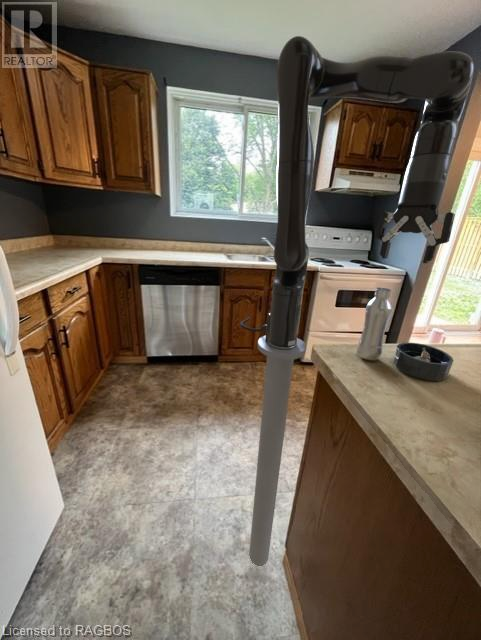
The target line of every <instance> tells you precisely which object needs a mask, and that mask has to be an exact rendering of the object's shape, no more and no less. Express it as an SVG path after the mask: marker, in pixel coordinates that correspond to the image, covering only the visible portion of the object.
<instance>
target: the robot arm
mask: <svg viewBox="0 0 481 640" xmlns="http://www.w3.org/2000/svg"><path fill="white" fill-rule="evenodd" d="M474 71H475V64H474V60H473V58H472V57H471V56H470V55H469V54H468V53H465V52H462V51H455V50H447V51H445V50H444V51H439V52H434V53H427V54H422V55H418V56H405V55H375V56H374V55H373V56H369V57H366V58H363V59H359V60H355V61H351V62H339V61H336V60H335V61H334V60H330V59H328V58H325V57H322V55H321V54H320V52H319V51H318V50H317V48H316V47H315V46H314V44H313V43H312V41H310V40H309V39H308V38H306V37H304V36H300V35H297V36H296V35H295V36H293V37H292V38H290V39H288V41H287V42H286V43H285V44H284V46H283V47H282V50H281V51H280V55H279V56H278V60H277V66H276V87H277V88H276V89H277V104H278V105H277V107H278V135H277V136H278V137H277V139H278V140H277V165H276V204H277V225H276V233H275V234H276V235H275V241H274V242H275V243H274V249H273V259H274V262H275V264H276V265H275V267H276V268H275V275H274V279H273V282H272V290H271V302H270V311H269V312H270V313H267V315H266V316H267V318H266V323H265V324H264V325H262V326H261V327H260V328H252V327H248V326H246V325H244V324H245V323H247V322H249V321H250V320H251V317H250V316H248V317H247V318H246V319H244V320H242V321H240V323H239V326H240V327H241V328H242V329H243V330H246V331H249V332H255V333H256V332H257V333H258V332H259V333H260V332H263V334H264V333H265V335H266V339H265V342H267V343H268V344H269V345H270V346H271V347H273V348H276V349H281V350H289V349H293V348H295V347H296V346H297V338H298V334H299V327H300V321H301V320H300V319H301V313H302V305H303V296H304V290H305V289H304V288H305V283H306V277H307V271H308V270H307V269H308V264H309V255H310V249H309V246H308V245H307V243H306V219H307V218H306V217H307V211H308V208H309V204H310V199H311V193H312V187H313V181H314V180H313V178H314V165H315V151H314V143H313V137H312V136H313V135H312V132H311V127H310V120H309V100H314V99H324V98H350V99H359V100H365V101H368V100H369V101H374V102H381V103H382V102H383V103H392V104H401V103H403V102H405V101H407V100H408V99H411V100H425V102H424V108H423V113H422V117H421V122H420V127H419V128H418V130H417V131H416V133H415V137H414V140H413V144H412V148H411V154H410V157H409V161H408V164H407V166H406V170H405V173H404V176H403V178H402V185H401V186H402V187H401V191H400V195H399V198H398V203H397V208H396V210H395V212H388V211H382V212H380V215H379V218H378V222H377V226H376V229H375V233H374V238H375V239H378V240H379V241H381V246H380V250H379V256H380V257H381V259H382V260H387V259H388V257H389V253H390V249H391V244H392V242H391V241H392V240H393V239H394V238H395V237H396V236H397V235H399V234H400V233H405V234H408V233H412V234H422V235H423V237H424V238H425V239H426V241H427V243H428V245H427V246H426V249H425V252H424V256H423V260H422V264H427V265H428V264H429V262H431V261H433V259H434V257H435V255H436V254H435V253H436V251H437V247H438V246H440V245H442V244H448V243H449V242H450V238H451V234H452V230H453V225H454V222H455V217H456V214H455V212H451V211H448V212H446V213H445V212H444V213H439V207H440V204H441V203H440V202H441V199H442V196H443V192H444V189H445V185H446V182H447V177H448V173H449V170H450V165H451V164H450V163H451V159H452V154H453V150H454V147H455V142H456V139H457V135H458V127H459V124H460V120H461V117H462V115H463V112H464V109H465V106H466V102H467V100H468V97H469V92H470V90H471V85H472V82H473V77H474ZM392 219H393V221H394V222H395V224H394V225H393V226H392V227H391V228H390V229H389V230H388V232H387V233H386V234H385V232H386V229H387V224H388V223H389V222H391V220H392ZM438 219H439V222H440V224H441V225H442V229H441V233H440V237H439V238H437V236H436V235H435V232H434V230H433V228H432V225H433V224H434V223H435V222H436V221H438Z"/></svg>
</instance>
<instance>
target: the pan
mask: <svg viewBox="0 0 481 640" xmlns="http://www.w3.org/2000/svg"><path fill="white" fill-rule="evenodd" d="M424 347H425V352H428V355H427V356H429V355H430V360H428V361H430V362H426V361H422V360H419V359H416V358H413V357H415V356H421V354H422V352H423V350H422V349H423V348H424ZM426 354H427V353H426ZM454 361H455V359H454V357H452V356H451V354H449V353H447V352H446V351H445V350H444V351H443V350H442V349H439V348H437V347H434V346H431V345H427V344H424V343H423V344H422V343H418V342H400V343H398V345H396V349H395V351H394V356H393V359H392V362H393V364H394V366H395V367H396V368H397V369H398V370H399V371H400V372H402V373H404V374H405V375H407V376H410V377H413V378H415V379H419V380H422V381H428V382H440V381H443V380H446V379H448V377H449V375H450V372H451V369H452V367H453V363H454Z"/></svg>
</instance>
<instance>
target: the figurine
mask: <svg viewBox="0 0 481 640" xmlns="http://www.w3.org/2000/svg"><path fill="white" fill-rule="evenodd" d="M422 350H423V352H422V354H421V356H415V357H413V358H416V359H419V360H422V361H426V362H430V361H428V360H430V355H429V356H427V355H428V352H425V347H424V348H423V349H422ZM426 353H427V354H426Z"/></svg>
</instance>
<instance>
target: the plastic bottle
mask: <svg viewBox="0 0 481 640" xmlns="http://www.w3.org/2000/svg"><path fill="white" fill-rule="evenodd" d="M373 294H374V297H373V298H372V299H370V300H369V302H368V303H367V304H366V307H365V315H364V324H363V329H362V332H361V335H360V338H359V340H358V342H357V344H356V353H357V355H358V357H360V358H361V359H364V360H367V361H377V360H379V359H380V358H381V356H382V354H383V349H384V346H383V344H384V339H385V338H384V337H385V332H386V329H387V327H388V323H389V322H390V319H391V317H392V315H393V312H394V310H393V309H394V308H393V306H392V303H391V301H390V298H391V294H392V289H390V288H387V287H376V288H375V291H374V293H373Z"/></svg>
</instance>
